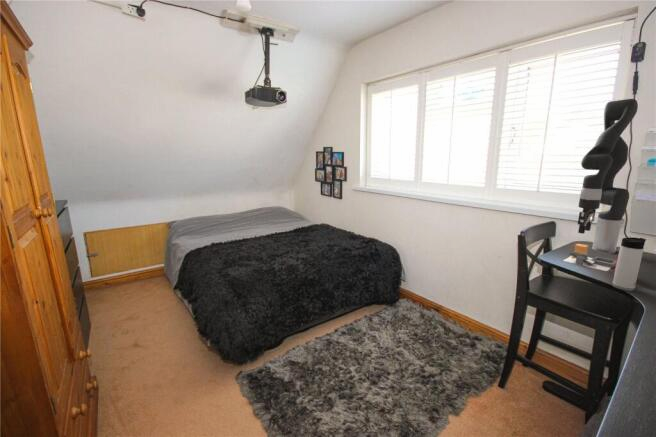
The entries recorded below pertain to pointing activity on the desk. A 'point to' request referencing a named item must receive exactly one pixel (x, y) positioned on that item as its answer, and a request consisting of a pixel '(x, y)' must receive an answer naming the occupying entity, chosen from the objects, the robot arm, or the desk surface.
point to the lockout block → (581, 248)
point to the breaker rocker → (583, 259)
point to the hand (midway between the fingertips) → (584, 231)
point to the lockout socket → (604, 262)
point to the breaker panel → (573, 260)
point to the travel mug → (628, 263)
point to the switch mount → (580, 259)
